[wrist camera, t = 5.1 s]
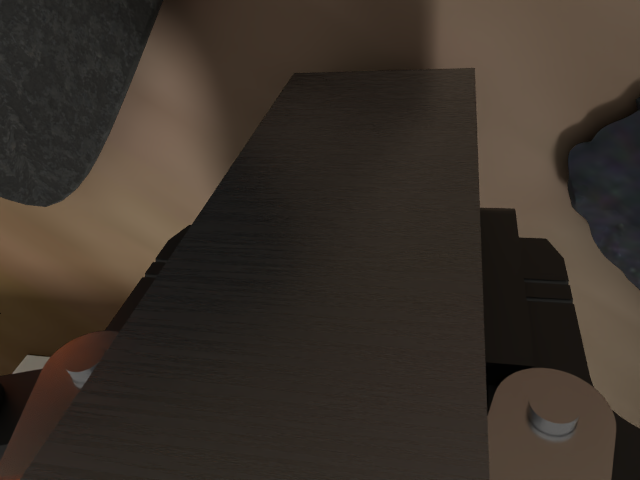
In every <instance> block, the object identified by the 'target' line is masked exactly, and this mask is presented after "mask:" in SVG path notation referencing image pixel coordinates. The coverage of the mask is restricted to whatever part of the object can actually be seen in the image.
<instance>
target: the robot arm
mask: <svg viewBox="0 0 640 480" xmlns="http://www.w3.org/2000/svg"><path fill="white" fill-rule="evenodd" d="M190 227H191V225H189V226H187V227H186V228H185V229H183V230H182V231H180V232H179V233H178V234H176V235H175V236H174V237H172V238H171V239H170V240H168V242H167V243H166V244H165V246H164V247H163V249H162V250H161V252H160V253H159V254H158V256H157V257H156V262H153V263H152V264H151V266H150V267H149V269H148V270H147V271H146V273H145V277H142V279H141V280H140V281H139V283H138V284H137V286H136V287H135V288H134V290H133V291H132V293H131V294H130V296H129V297H128V298H127V300H126V301H125V303H124V304H123V305H122V307H121V308H120V310H119V311H118V313H117V314H116V315H115V317H114V318H113V320H112V321H111V323H110V324H109V325H108V327H107V328H106V330H105V331H98V332H92V333H89V334H85V335H83V336H80V337H78V338H76V339H74V340H72V341H70V342H68V343H67V344H65V345H64V346H62V347H61V348H60V349H58V350H57V351H56V352H55V353H54V354H53V355H52V356H51V357H50V358H49V359H48V361H47V362H46V363H45V365H44V367H43V369H37V370H32V371H26V372H20V373H15V374H9V375H3V376H0V480H20V479H21V477H22V476H23V474H24V473H25V471H26V470H27V468H28V467H29V465H30V464H31V462H32V461H33V459H34V458H35V456H36V455H37V453H38V452H39V450H40V449H41V447H42V446H43V445H44V443H45V442H46V440H47V439H48V437H49V436H50V434H51V433H52V431H53V430H54V428H55V427H56V425H57V424H58V422H59V421H60V419H61V418H62V416H63V415H64V413H65V412H66V410H67V409H68V407H69V406H70V405H71V403H72V402H73V400H74V399H75V397H76V396H77V394H78V393H79V391H80V390H81V388H82V387H83V385H84V384H85V382H86V381H87V379H88V378H89V376H90V375H91V373H92V372H93V370H94V369H95V367H96V366H97V364H98V363H99V362H100V360H101V359H102V357H103V356H104V354H105V353H106V351H107V350H108V348H109V347H110V345H111V344H112V342H113V341H114V339H115V338H116V336H117V335H118V333H119V332H120V330H121V329H122V327H123V326H124V324H125V323H126V322H127V320H128V319H129V317H130V316H131V314H132V313H133V311H134V310H135V308H136V307H137V305H138V304H139V302H140V301H141V299H142V298H143V296H144V295H145V293H146V292H147V290H148V289H149V287H150V286H151V284H152V283H153V282H154V280H155V279H156V277H157V276H158V274H159V273H160V271H161V270H162V268H163V267H164V265H165V264H166V262H167V261H168V259H169V258H170V256H171V255H172V253H173V252H174V250H175V249H176V247H177V246H178V244H179V243H180V242H181V240H182V239H183V237H184V236H185V234H186V233H187V231H188V230H189V228H190ZM480 228H481V255H482V283H483V310H484V337H485V365H486V392H487V419H488V447H489V474H490V480H640V428H638V427H636V426H634V425H632V424H630V423H629V422H627V421H626V420H624V419H623V418H621V417H620V416H619V415H617V414H616V413H615V412H614V411H613V410H612V409H611V407H610V405H609V404H608V402H607V401H606V399H605V398H604V397H603V396H602V395H601V394H600V393H599V392H598V391H597V390H596V389H595V388H594V386H593V384H592V381H591V378H590V375H589V370H588V366H587V361H586V357H585V352H584V348H583V343H582V339H581V334H580V330H579V325H578V321H577V316H576V312H575V307H574V304H573V298H572V294H571V289H570V285H568V281H569V280H568V276H567V271H566V267H565V262H564V258H563V257H562V256H561V255H560V254H559V253H558V251H557V250H556V249H555V248H554V247H553V246H552V245H551V244H550V242H549V241H548V240H547V239H542V238H519V236H518V228H517V220H516V212H515V209H506V208H480Z"/></svg>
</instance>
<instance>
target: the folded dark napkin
mask: <svg viewBox="0 0 640 480" xmlns="http://www.w3.org/2000/svg"><path fill="white" fill-rule="evenodd" d="M636 104H637V109H638V111H637V112H635V113H634V114H632V115H630V116H628V117H626V118H624V119H621V120H619V121H616V122H614V123H612V124H609V125H607V126H605V127H604V128H602V129H601V130H600V131H599V132H598V133H597V134H596V135H595V137H594V138H593V140H592V141H590V142H583V143H580V144H577V145H576V146H575V147H574V148H573V149H571V151H570V152H569V157H568V169H569V179H568V192H569V196H570V199H571V204H572V206H573V208H574V209H575V210H576V211H577V212H578V213H579V214H580V215H582V216H583V217H584V218H585V219H586V220H587V222H588V223H589V226H590V230H591V234H592V237H593V239H594V241H595V243H596V244H597V246H598V248H599V249H600V251H601V252H602V253H603V255H604V256H605V257H606V258H607V259H608V260H609V261H611V262H612V263H613V264H614V265H615V266H617V267H618V268H619V269H621V270H622V271H623V273H624V274H625V276H626V277H627V278H628V280H629V281H630V282H632V283H633V284H634V285H635V286H636V287H637V288H638V289H639V290H640V97H639V98H637V99H636Z"/></svg>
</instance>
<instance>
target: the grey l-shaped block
mask: <svg viewBox="0 0 640 480" xmlns="http://www.w3.org/2000/svg"><path fill="white" fill-rule="evenodd" d="M20 480H490V474H489V447H488V419H487V392H486V365H485V337H484V310H483V283H482V255H481V228H480V201H479V173H478V146H477V119H476V91H475V68H460V69H426V70H391V71H357V72H323V73H294V74H293V76H292V77H291V79H290V80H289V81H288V83H287V84H286V86H285V87H284V89H283V90H282V92H281V93H280V95H279V96H278V98H277V99H276V101H275V102H274V104H273V105H272V107H271V108H270V110H269V111H268V113H267V114H266V116H265V117H264V119H263V120H262V122H261V123H260V124H259V126H258V127H257V129H256V130H255V132H254V133H253V135H252V136H251V138H250V139H249V141H248V142H247V144H246V145H245V147H244V148H243V150H242V151H241V153H240V154H239V156H238V157H237V159H236V160H235V162H234V163H233V164H232V166H231V167H230V169H229V170H228V172H227V173H226V175H225V176H224V178H223V179H222V181H221V182H220V184H219V185H218V187H217V188H216V190H215V191H214V193H213V194H212V196H211V197H210V199H209V200H208V202H207V203H206V204H205V206H204V207H203V209H202V210H201V212H200V213H199V215H198V216H197V218H196V219H195V221H194V222H193V224H192V225H191V227H190V228H189V230H188V231H187V233H186V234H185V236H184V237H183V239H182V240H181V242H180V243H179V244H178V246H177V247H176V249H175V250H174V252H173V253H172V255H171V256H170V258H169V259H168V261H167V262H166V264H165V265H164V267H163V268H162V270H161V271H160V273H159V274H158V276H157V277H156V279H155V280H154V282H153V283H152V284H151V286H150V287H149V289H148V290H147V292H146V293H145V295H144V296H143V298H142V299H141V301H140V302H139V304H138V305H137V307H136V308H135V310H134V311H133V313H132V314H131V316H130V317H129V319H128V320H127V322H126V323H125V324H124V326H123V327H122V329H121V330H120V332H119V333H118V335H117V336H116V338H115V339H114V341H113V342H112V344H111V345H110V347H109V348H108V350H107V351H106V353H105V354H104V356H103V357H102V359H101V360H100V362H99V363H98V364H97V366H96V367H95V369H94V370H93V372H92V373H91V375H90V376H89V378H88V379H87V381H86V382H85V384H84V385H83V387H82V388H81V390H80V391H79V393H78V394H77V396H76V397H75V399H74V400H73V402H72V403H71V405H70V406H69V407H68V409H67V410H66V412H65V413H64V415H63V416H62V418H61V419H60V421H59V422H58V424H57V425H56V427H55V428H54V430H53V431H52V433H51V434H50V436H49V437H48V439H47V440H46V442H45V443H44V445H43V446H42V447H41V449H40V450H39V452H38V453H37V455H36V456H35V458H34V459H33V461H32V462H31V464H30V465H29V467H28V468H27V470H26V471H25V473H24V474H23V476H22V477H21V479H20Z"/></svg>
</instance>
